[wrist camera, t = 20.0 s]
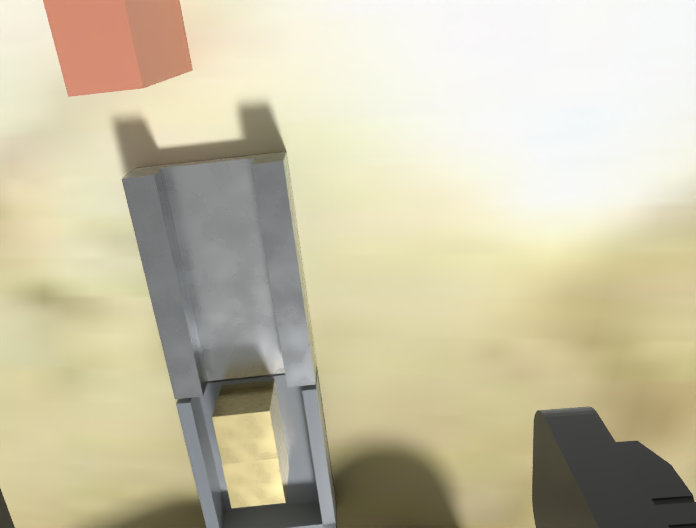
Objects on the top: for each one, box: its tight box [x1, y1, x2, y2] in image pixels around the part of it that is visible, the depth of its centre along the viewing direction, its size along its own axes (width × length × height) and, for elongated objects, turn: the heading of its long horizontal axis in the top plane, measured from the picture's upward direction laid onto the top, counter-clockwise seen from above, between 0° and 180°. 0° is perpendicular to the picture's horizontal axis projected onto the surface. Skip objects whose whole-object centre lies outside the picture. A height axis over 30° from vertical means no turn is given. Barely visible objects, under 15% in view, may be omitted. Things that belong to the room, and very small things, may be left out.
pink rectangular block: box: [43, 0, 192, 97], centre depth 33 cm, size 4×5×11 cm
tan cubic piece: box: [212, 380, 282, 464], centre depth 45 cm, size 4×4×4 cm
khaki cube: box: [222, 429, 289, 508], centre depth 47 cm, size 4×4×4 cm
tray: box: [176, 367, 337, 528], centre depth 48 cm, size 10×13×3 cm
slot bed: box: [122, 152, 316, 399], centre depth 43 cm, size 10×16×3 cm, turn 6°
